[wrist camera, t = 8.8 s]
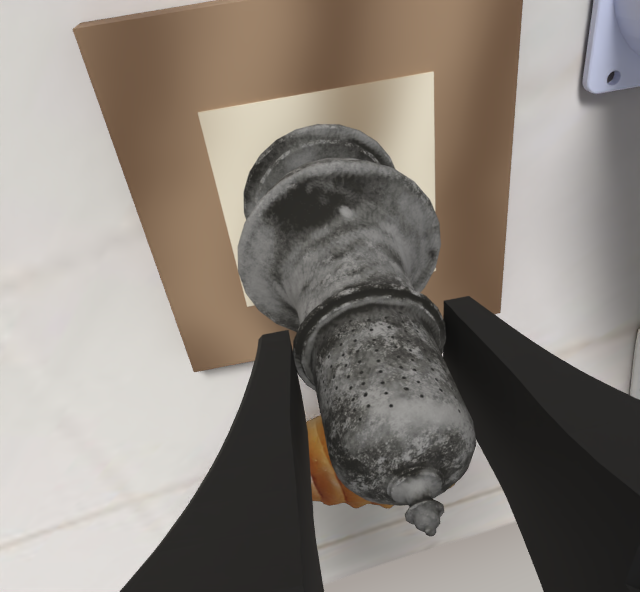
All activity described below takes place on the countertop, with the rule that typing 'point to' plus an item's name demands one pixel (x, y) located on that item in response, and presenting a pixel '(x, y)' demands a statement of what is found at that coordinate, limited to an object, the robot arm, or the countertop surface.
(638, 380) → the syrup box
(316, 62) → the walnut board
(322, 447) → the pastry
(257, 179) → the salt shaker
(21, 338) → the countertop surface
